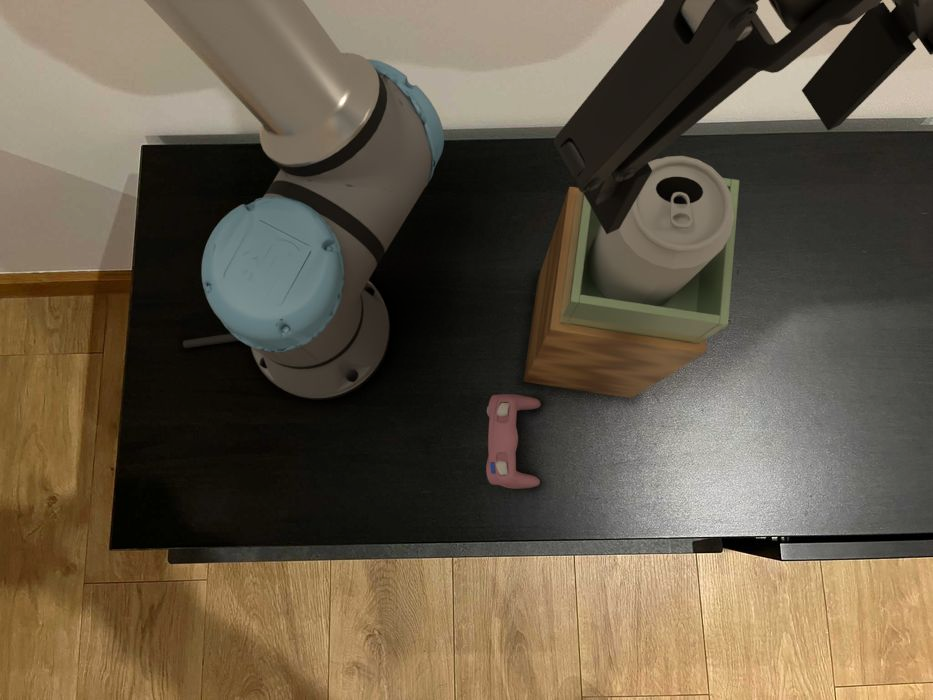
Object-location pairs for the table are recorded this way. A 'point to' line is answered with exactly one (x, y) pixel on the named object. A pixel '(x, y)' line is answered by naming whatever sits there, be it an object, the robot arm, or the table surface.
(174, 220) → the table surface
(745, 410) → the table surface
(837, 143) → the table surface
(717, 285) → the box
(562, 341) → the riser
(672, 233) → the can
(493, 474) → the video game controller
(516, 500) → the table surface
